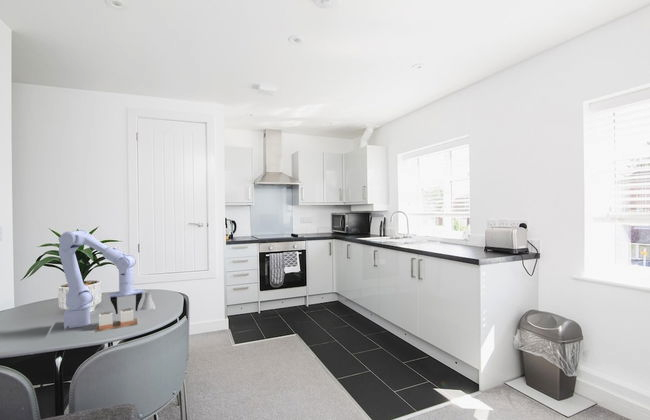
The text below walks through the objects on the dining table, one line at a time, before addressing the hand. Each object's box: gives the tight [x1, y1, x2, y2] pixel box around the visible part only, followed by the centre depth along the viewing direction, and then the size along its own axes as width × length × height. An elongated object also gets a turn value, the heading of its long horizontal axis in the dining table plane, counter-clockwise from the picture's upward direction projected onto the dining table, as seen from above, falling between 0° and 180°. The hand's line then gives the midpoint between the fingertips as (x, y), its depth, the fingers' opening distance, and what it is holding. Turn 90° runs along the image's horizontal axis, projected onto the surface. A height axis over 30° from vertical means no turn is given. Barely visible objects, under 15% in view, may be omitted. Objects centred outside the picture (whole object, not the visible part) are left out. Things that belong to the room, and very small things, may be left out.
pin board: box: [94, 317, 138, 333], centre depth 148 cm, size 16×10×6 cm, turn 122°
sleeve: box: [119, 307, 134, 326], centre depth 150 cm, size 5×5×6 cm
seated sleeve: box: [98, 310, 114, 330], centre depth 146 cm, size 5×5×6 cm
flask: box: [140, 290, 157, 311], centre depth 172 cm, size 7×7×10 cm
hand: (126, 311), depth 150 cm, fingers open, 7 cm apart
